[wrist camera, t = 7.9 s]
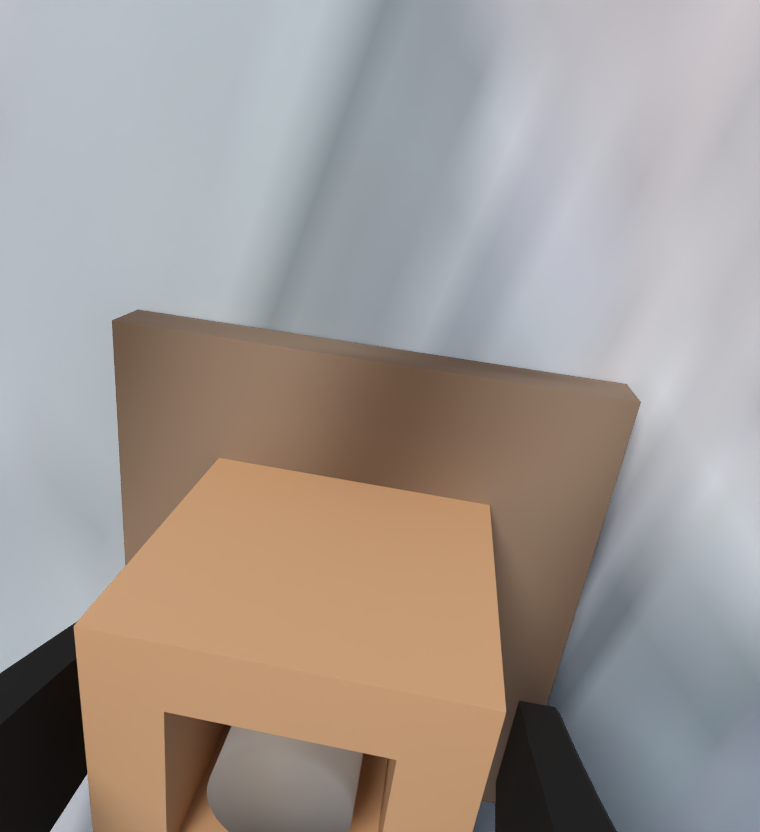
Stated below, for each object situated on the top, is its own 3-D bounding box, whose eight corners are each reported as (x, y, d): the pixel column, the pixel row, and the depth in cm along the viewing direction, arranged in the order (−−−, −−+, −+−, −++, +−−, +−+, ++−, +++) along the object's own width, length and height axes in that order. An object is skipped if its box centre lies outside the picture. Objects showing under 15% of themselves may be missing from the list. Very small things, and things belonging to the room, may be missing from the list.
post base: (626, 384, 12) (764, 560, 6) (512, 770, 16) (536, 1070, 11) (137, 309, 12) (-108, 410, 7) (152, 698, 17) (6, 944, 11)
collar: (489, 505, 12) (506, 712, 7) (443, 708, 14) (433, 967, 9) (219, 457, 12) (73, 626, 8) (214, 663, 14) (98, 890, 10)
